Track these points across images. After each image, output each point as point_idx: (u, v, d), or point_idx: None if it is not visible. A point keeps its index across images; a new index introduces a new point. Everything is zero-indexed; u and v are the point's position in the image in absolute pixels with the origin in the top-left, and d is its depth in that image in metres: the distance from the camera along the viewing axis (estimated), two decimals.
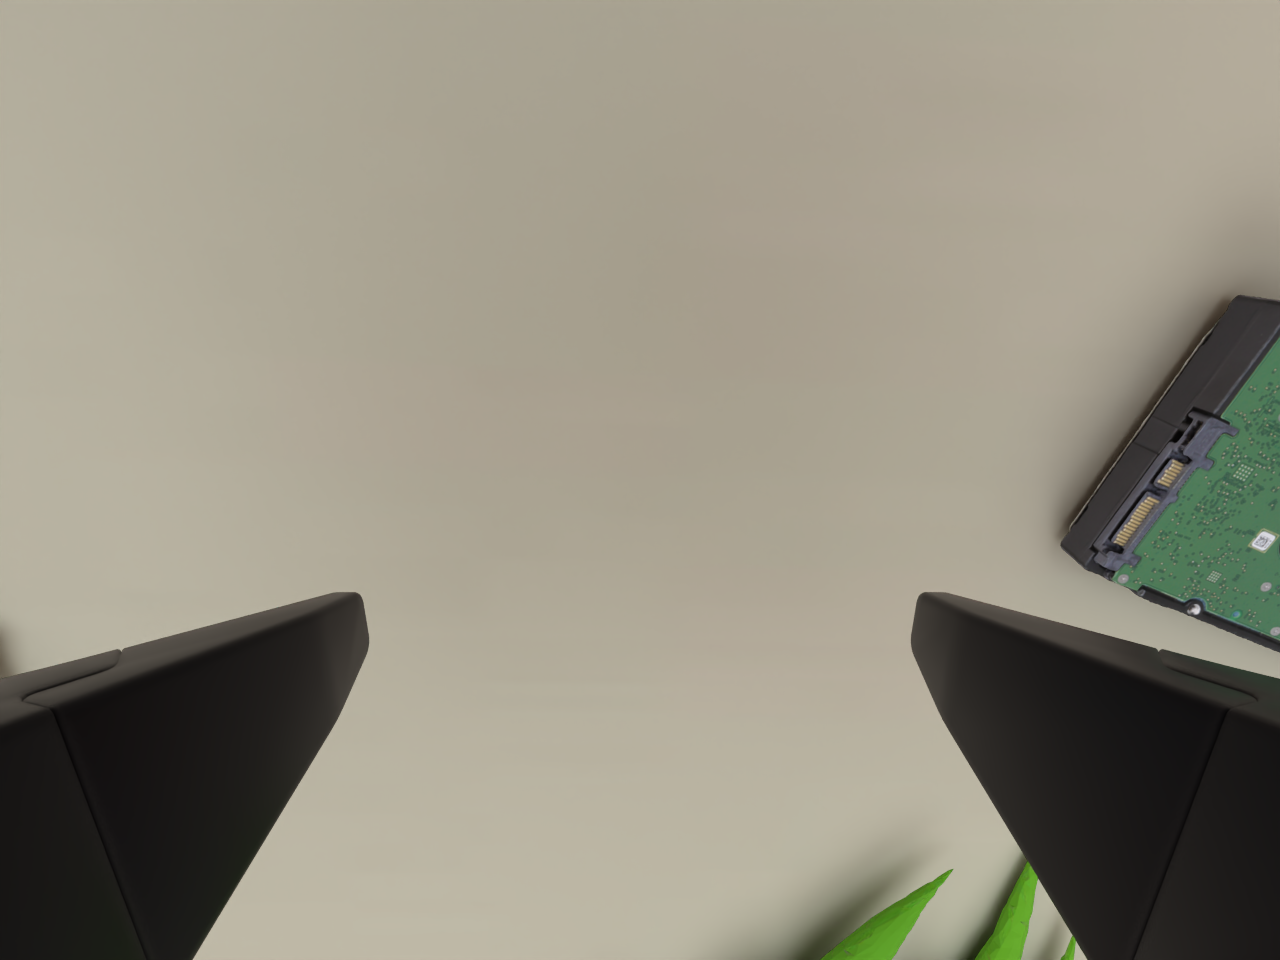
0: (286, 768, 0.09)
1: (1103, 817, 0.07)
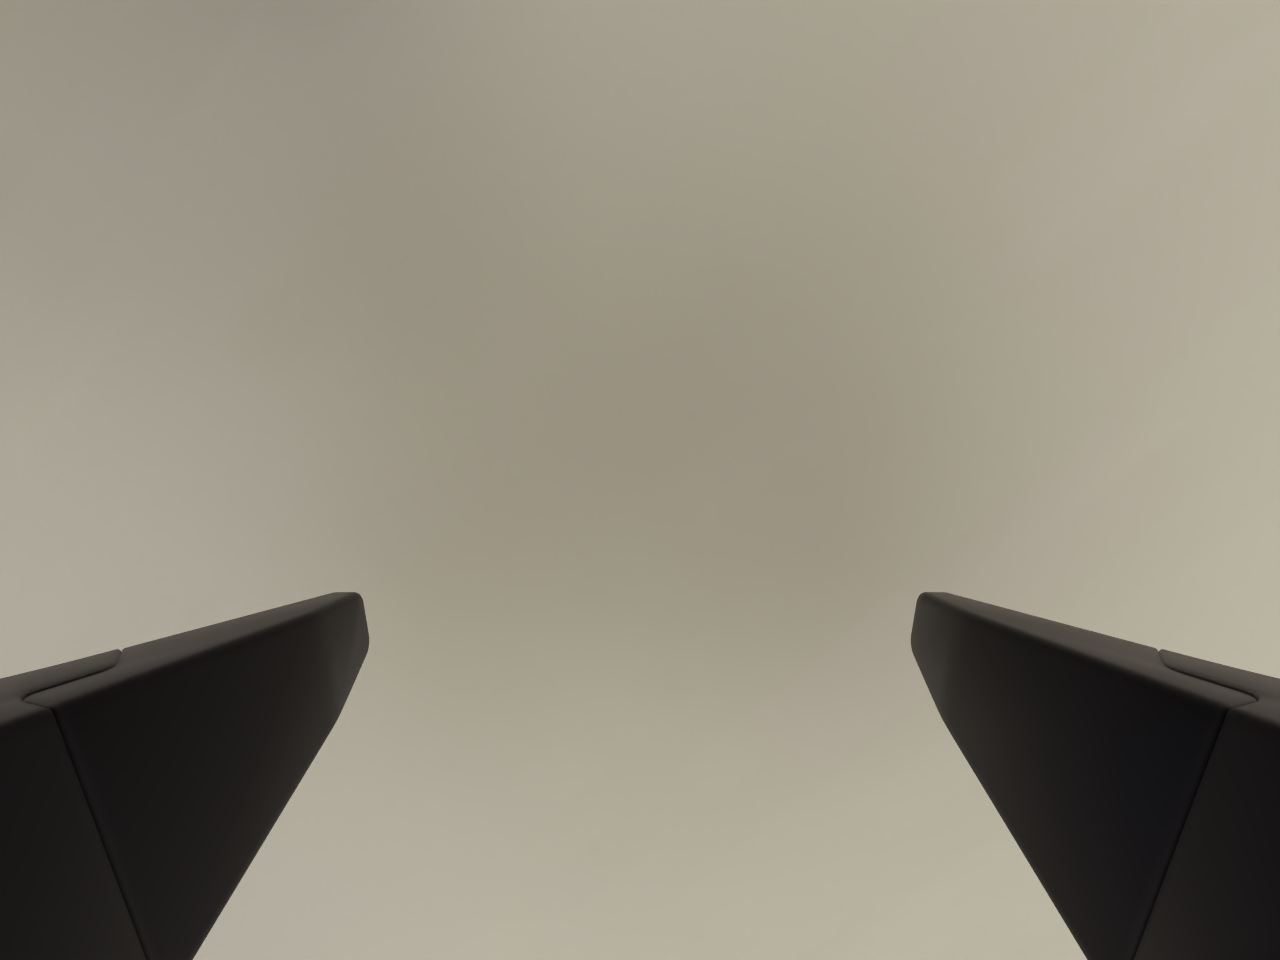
0: (286, 768, 0.09)
1: (1103, 817, 0.07)
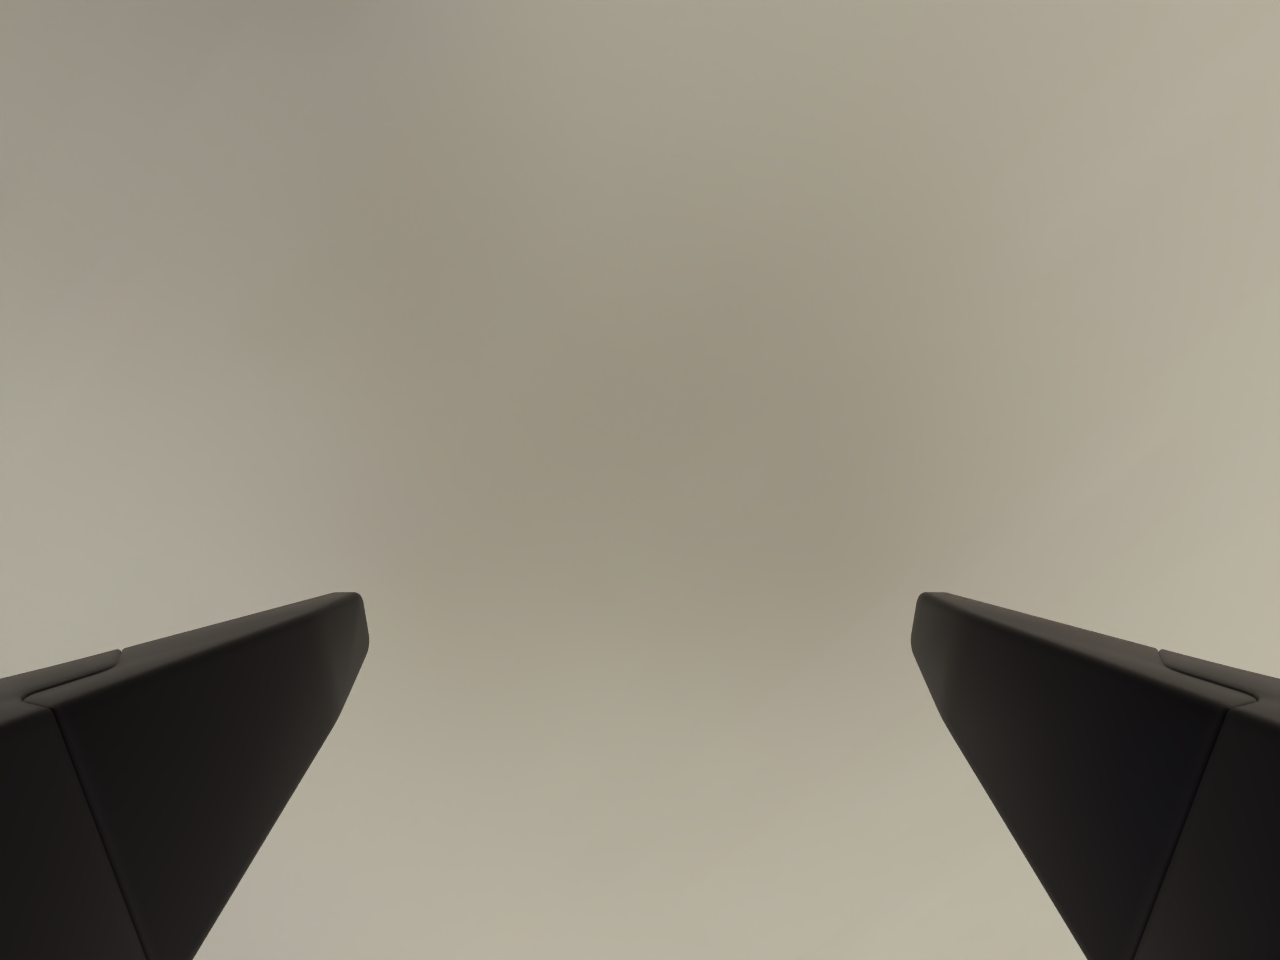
0: (286, 768, 0.09)
1: (1103, 817, 0.07)
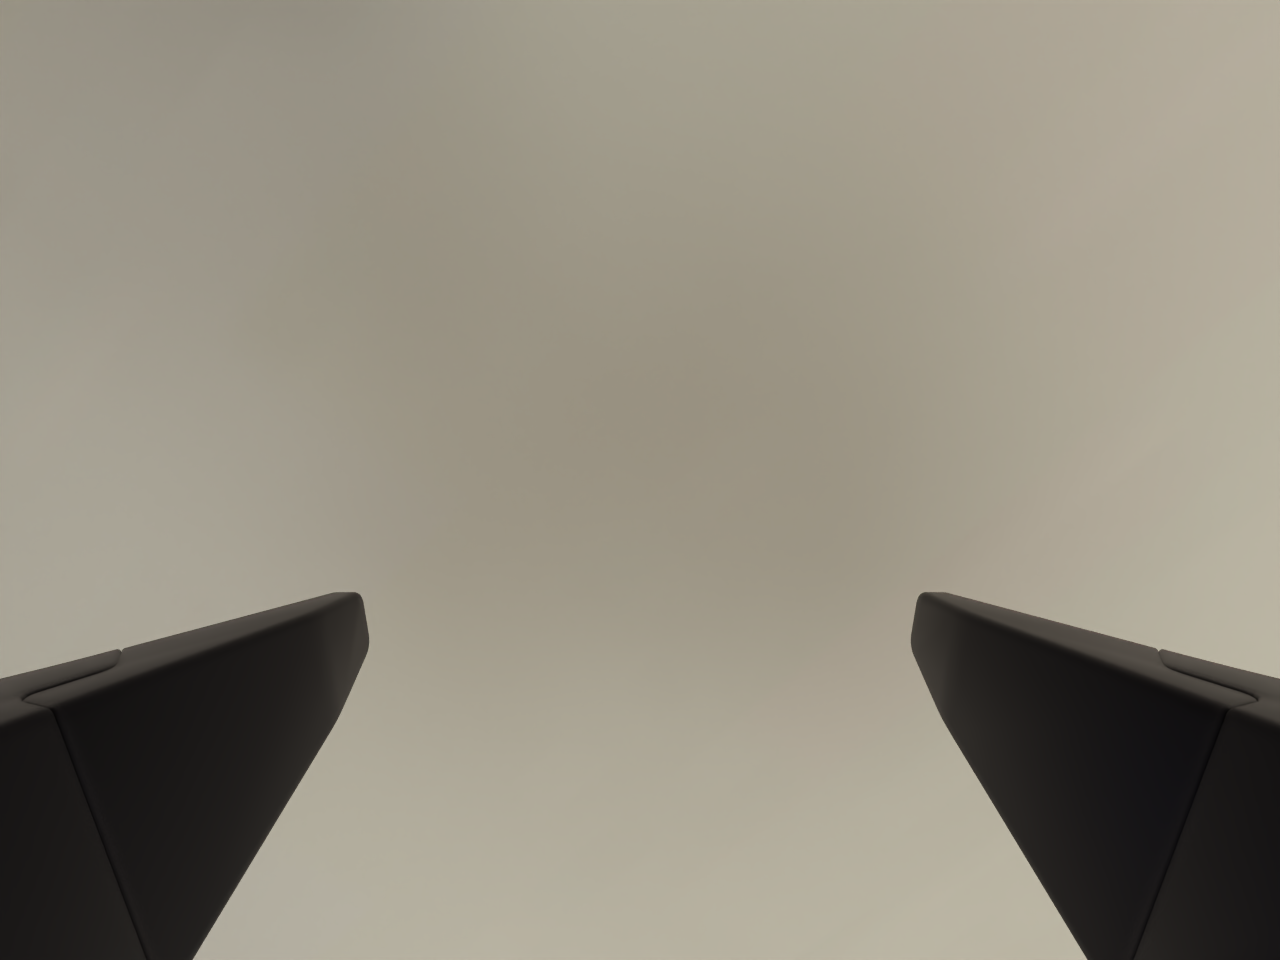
0: (286, 768, 0.09)
1: (1103, 817, 0.07)
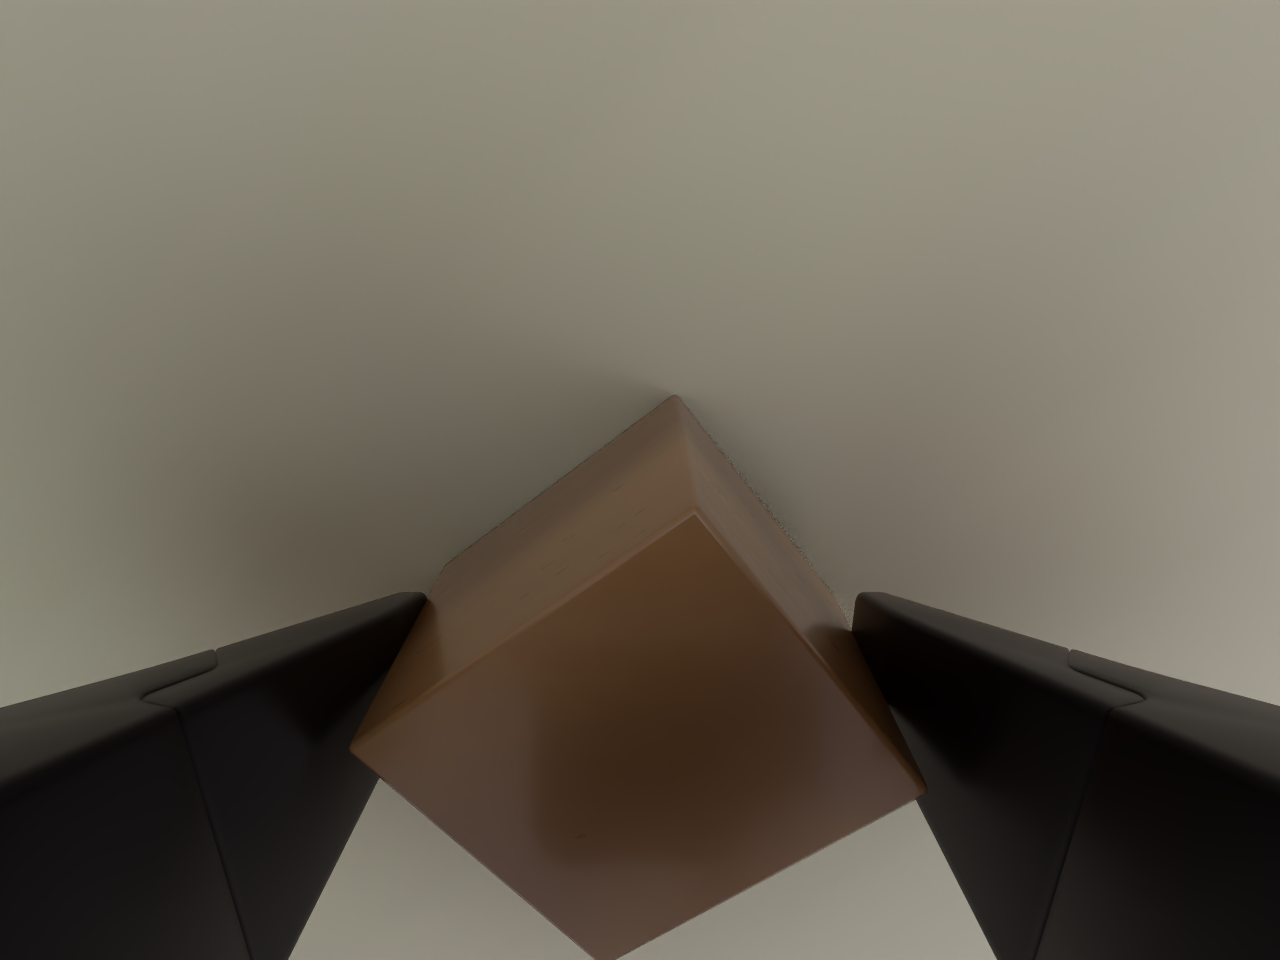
0: (366, 768, 0.09)
1: (1008, 817, 0.07)
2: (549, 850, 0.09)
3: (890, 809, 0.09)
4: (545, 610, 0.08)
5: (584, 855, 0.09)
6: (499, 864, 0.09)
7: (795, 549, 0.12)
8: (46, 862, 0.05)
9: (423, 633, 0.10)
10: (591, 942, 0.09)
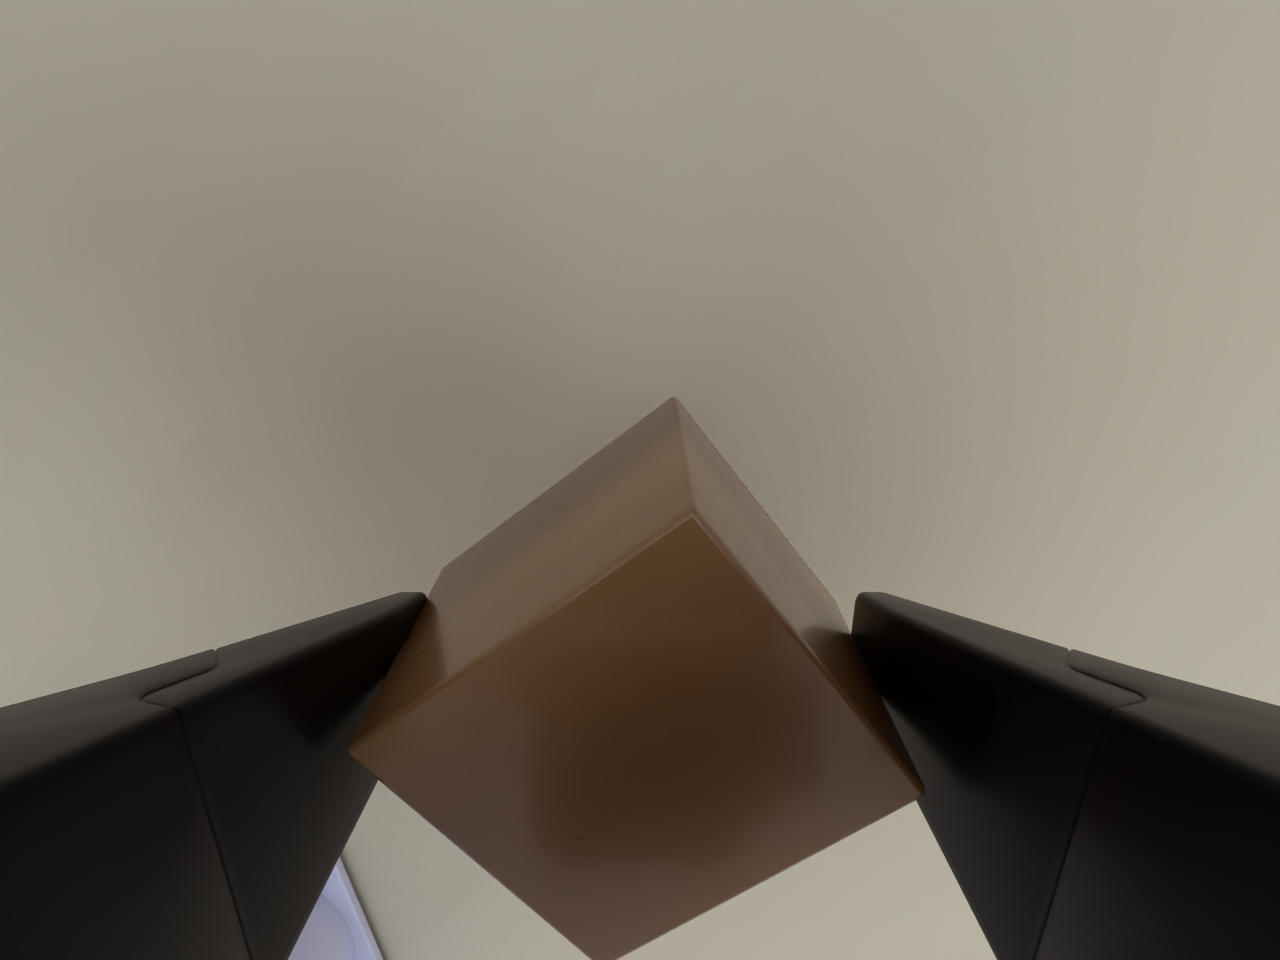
0: None
1: (1008, 817, 0.07)
2: (548, 851, 0.09)
3: (888, 811, 0.09)
4: (543, 614, 0.08)
5: (582, 857, 0.09)
6: (498, 866, 0.09)
7: (793, 550, 0.12)
8: (46, 862, 0.05)
9: (422, 635, 0.10)
10: (590, 944, 0.09)
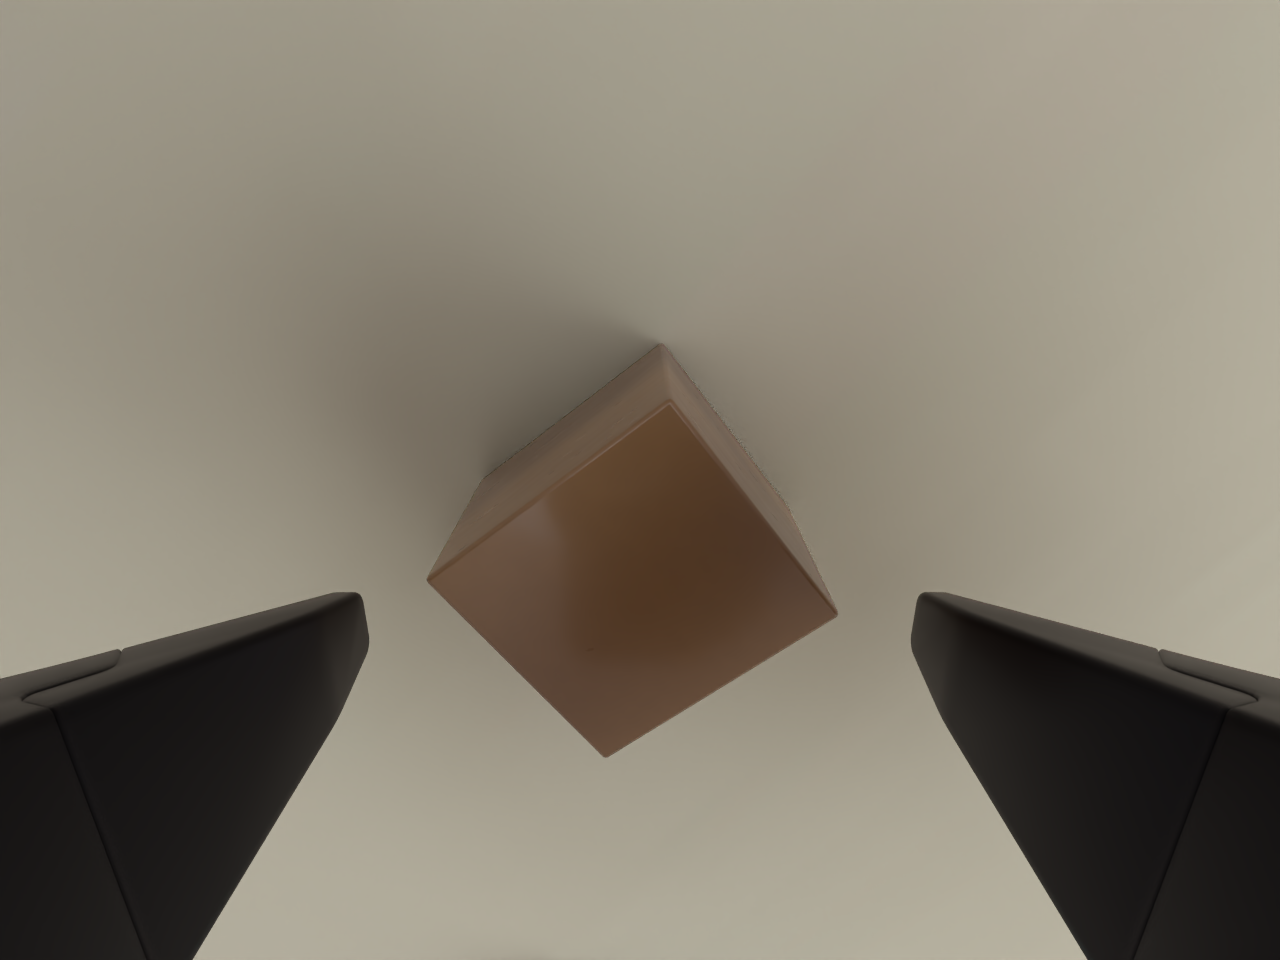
0: (286, 768, 0.09)
1: (1103, 817, 0.07)
2: (567, 660, 0.12)
3: (811, 628, 0.12)
4: (568, 474, 0.11)
5: (592, 665, 0.12)
6: (531, 672, 0.12)
7: (755, 465, 0.15)
8: None
9: (473, 514, 0.13)
10: (597, 737, 0.13)
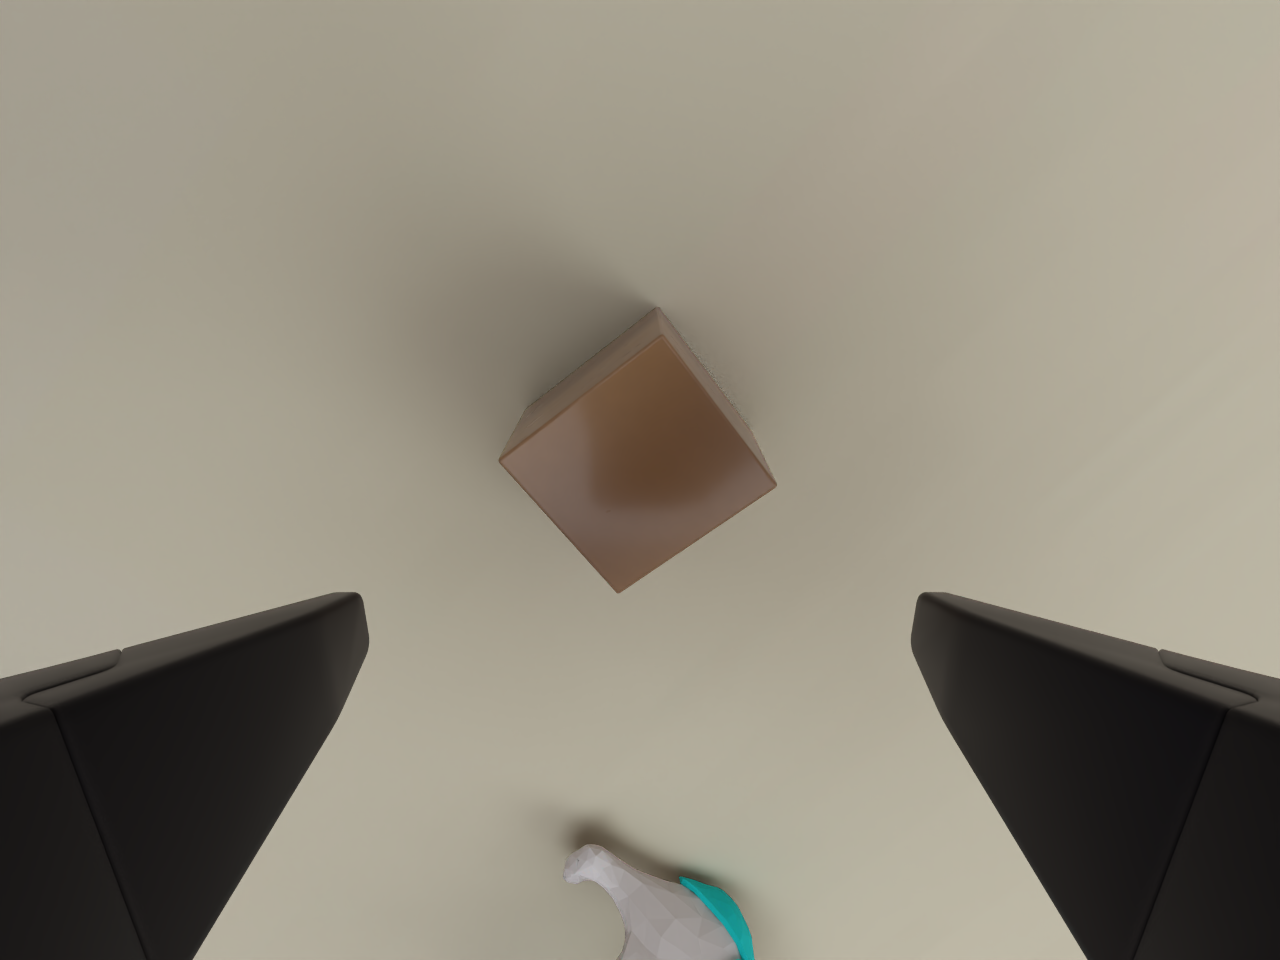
0: (286, 768, 0.09)
1: (1103, 817, 0.07)
2: (592, 519, 0.18)
3: (758, 495, 0.18)
4: (595, 385, 0.17)
5: (609, 522, 0.18)
6: (567, 528, 0.18)
7: (725, 397, 0.21)
8: None
9: (524, 424, 0.19)
10: (612, 577, 0.18)
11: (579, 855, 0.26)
